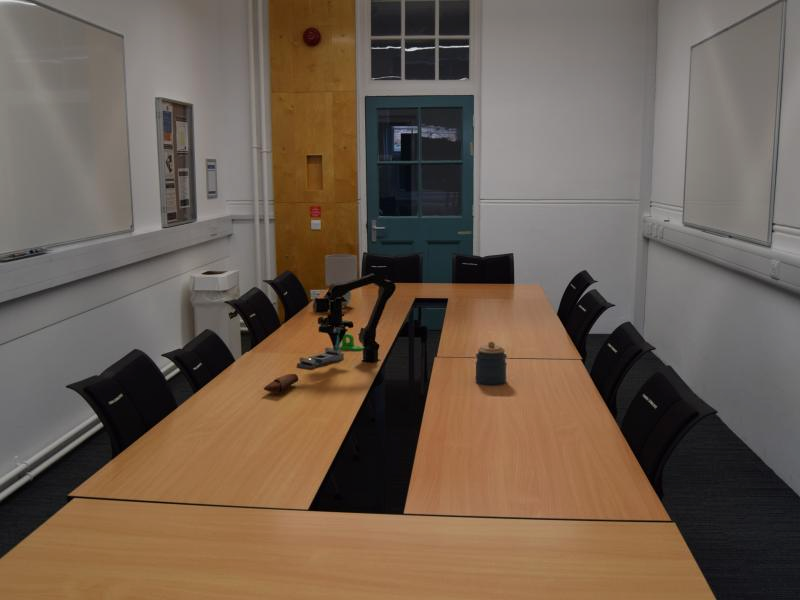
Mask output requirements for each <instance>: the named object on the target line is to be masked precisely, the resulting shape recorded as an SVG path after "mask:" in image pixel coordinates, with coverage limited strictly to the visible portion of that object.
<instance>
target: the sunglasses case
mask: <svg viewBox="0 0 800 600" xmlns="http://www.w3.org/2000/svg"><path fill="white" fill-rule="evenodd" d="M298 381H299V377H298V375H297V374H296V373H290V374H285V375H282V376H279V377H277V378H275V379H273V381H271V382H269V383H268V384H267V385H266V386H264V388H263V390H264V391H266V392H270V393H273V394H278V395H279V394H281V393H283V392H284V391H285V390H286V389H288V388H289V387H291V386H292V385H294V384H295V383H297V382H298Z"/></svg>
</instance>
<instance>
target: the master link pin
mask: <svg viewBox="0 0 800 600" xmlns="http://www.w3.org/2000/svg"><path fill="white" fill-rule="evenodd" d="M336 332H338V336H337V341H336V345H335V346H333V345H332V348H333V350H340V345H341V343H340V333H341V330H336Z"/></svg>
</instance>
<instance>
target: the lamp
mask: <svg viewBox="0 0 800 600" xmlns="http://www.w3.org/2000/svg"><path fill="white" fill-rule="evenodd" d="M357 262H358V256H357V255H356V254H329V255H325V256H324V265H325V267H324V268H325V269H324V270H325V271H324V272H325V285H326V286H328V287H329V286H330V285H331V284H335V283H345V282H349V281H352V280H355V279H358V274H357V273H358V266H357V265H358V263H357ZM343 297H344V298H345V299H346V300H347V302H342V307H343V306H346V307H347V306H349V304H350V303H351V301H352V293H351V291H349V292H348V293H347V294H345V295H343ZM339 298H340V297H339Z"/></svg>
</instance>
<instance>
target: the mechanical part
mask: <svg viewBox="0 0 800 600" xmlns="http://www.w3.org/2000/svg"><path fill="white" fill-rule="evenodd" d="M347 338H348V340H349V341H348V340H347ZM354 339H355V338H354V336H353V334H351V333H345V335H344V337H343V339H342V341H341V346H340V350H341V351H350V352H353V351H354V352H361V351H362V352H363V348H365V347H363V345H355V341H354Z"/></svg>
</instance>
